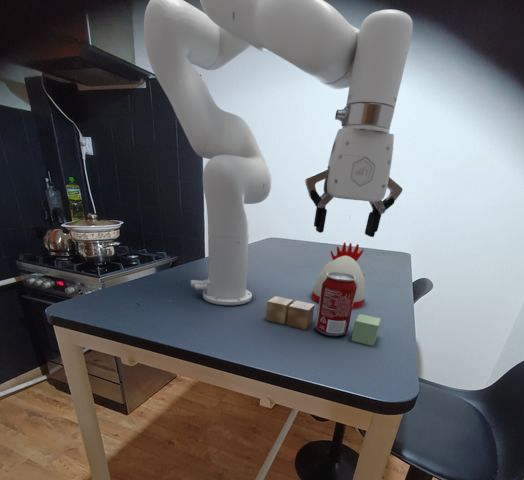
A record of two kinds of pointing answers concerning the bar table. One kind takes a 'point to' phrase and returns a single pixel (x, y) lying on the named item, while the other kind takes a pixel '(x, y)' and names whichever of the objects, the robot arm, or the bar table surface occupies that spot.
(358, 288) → the kitchen timer
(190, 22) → the robot arm
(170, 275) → the bar table surface
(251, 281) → the bar table surface
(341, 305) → the soda can
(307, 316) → the beech block
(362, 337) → the sage block
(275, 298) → the maple block
